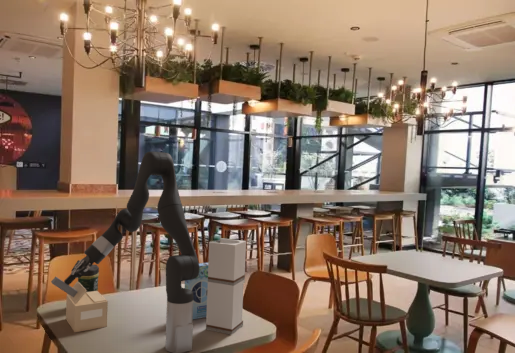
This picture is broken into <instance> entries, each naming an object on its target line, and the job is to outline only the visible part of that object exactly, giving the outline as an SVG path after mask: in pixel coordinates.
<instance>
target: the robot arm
mask: <svg viewBox="0 0 515 353" xmlns="http://www.w3.org/2000/svg"><path fill="white" fill-rule="evenodd" d="M140 162H141V163H140V166H139V169H138V173H137V175H136V176H137V177H136V181H135V183H134V184H135V185H134V188H133V190H132V193H131V195H130V197H129V199H128V201H127V203H126V208H122V209H121V210H119V211H118V212H117V214H116V215H115V218H114V219H113V221H112V223H111V224H110V225H109V227H108V228H107V229H106V231H104V232H103V234H101V235H100V236H99V237H98V238H96V239H95V240H94V241H93V243H91V244H90V245H89V247H88V248H86V249H85V250H84V255H86V256H84V257H83V258H81V259H80V260H79V259H78V260H77V261H76V262H75V264H74V266H73V267H72V268H71V273H70V274H69V275H68V276H67V277H66V278H65V279H64V281H63V282H65V283H66V284H67V285H69V286H71V284H72V283H73V281H75V280H76V279H78V278H80V277H81V276H83V275H85V274H86V273H88V272H89V271H90V268H91V266H92V265H94V263H95V265H99V264H100V263H101V262H102V261H103V260H104V259H105V258H106V257H107V256H108V255H109V254H110V253H111V251H112V250H113V249H114V248H115V247H116V246H117V245H118V244H119V243H120V242H121V241H122V239H123V238H124V237H123V236H124V235H123V233H122V232H121V231H120V229H119V227H120V226H122V227H123V228H124V229H125V230H126V231H127V232H130V233H134V232H136V231H137V230H138V229H140V227H141V225H142V222H143V216H144V215H143V214H144V209H145V208H146V205H147V203H148V201H149V199H150V190H149V187H148V181H149V178H150V177H151V176H156V177H157V176H158V177H159V176H160V177H161V179H162V183H163V188H162V189H163V190H162V192H161V194H160V197H159V199H158V202H157V208H156V209H157V210H156V211H157V214H158V218H159V223H160V225H161V226H162V228H163V229H164V230H165V232H166V233H167V234H168V235H169V236H170V238H172V240H173V241H174V242H175V243H176V245H177V247H178V249H179V252H180V254H175V255H171V256H169V257H168V258H167V259H166V263H165V291H166V316H165V317H166V318H165V347H164V348H165V351H167V352H168V353H186V352H191V351H193V331H194V329H193V328H194V325H193V320H194V319H193V292H192V291H191V290H189V289H186V288H185V287H182V282H185V281H186V280H191V279H195V278H197V277H198V275H199V263H200V262H199V259H198V255H197V252H196V250H195V247H194V245H193V241H192V239H191V235H190V233H189V232H190V231H189V228H188V225H187V224H188V223H187V220H186V216H185V211H184V208H183V204H182V200H181V197H180V196H181V195H180V194H179V193H180V192H179V188H178V183H177V176H176V171H175V163H174V160H173V157H172V155H171V154H170V153H168V152H162V151H147V152H145V154H144V156H142V159H141V161H140Z"/></svg>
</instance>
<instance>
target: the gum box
mask: <svg viewBox="0 0 515 353" xmlns="http://www.w3.org/2000/svg"><path fill="white" fill-rule="evenodd" d="M184 288H186V289H189V290H191V291H192V292H193V320H197V319H201V318H206V316H207V288H208V262H207V261H205V262H199V275H198V277H197V278H195V279H191V280H186V281H184Z"/></svg>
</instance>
